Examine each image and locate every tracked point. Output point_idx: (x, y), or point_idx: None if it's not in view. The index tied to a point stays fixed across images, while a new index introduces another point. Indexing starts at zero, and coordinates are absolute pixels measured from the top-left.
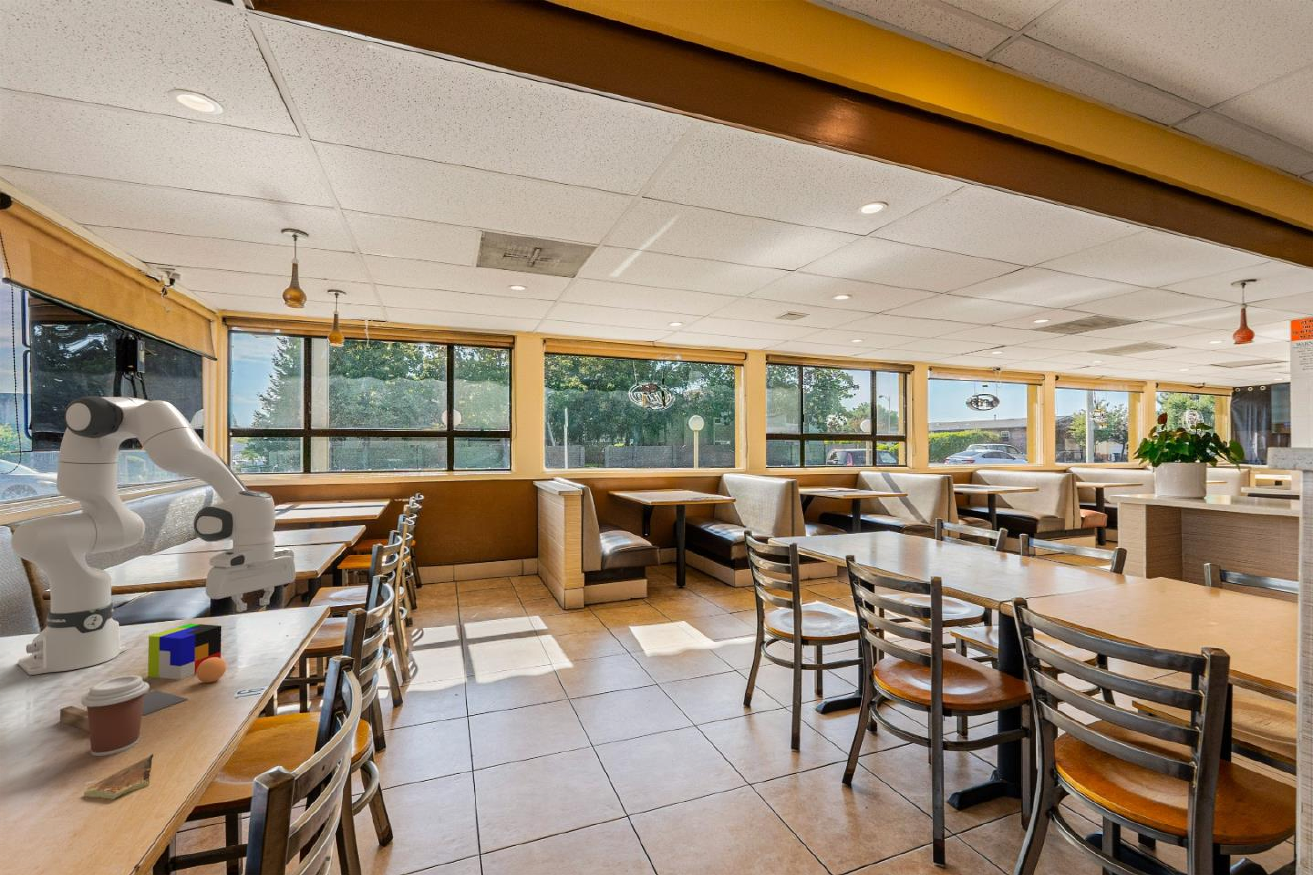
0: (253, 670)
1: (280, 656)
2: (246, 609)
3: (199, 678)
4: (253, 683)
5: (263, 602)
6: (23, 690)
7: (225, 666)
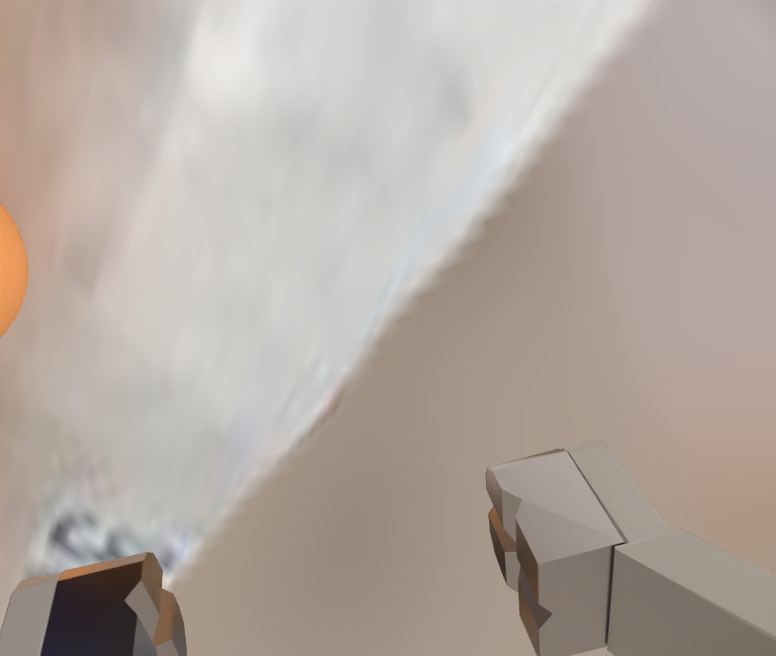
0: (240, 244)
1: (499, 95)
2: (178, 639)
3: None
4: (158, 465)
5: (522, 573)
6: None
7: (13, 318)
